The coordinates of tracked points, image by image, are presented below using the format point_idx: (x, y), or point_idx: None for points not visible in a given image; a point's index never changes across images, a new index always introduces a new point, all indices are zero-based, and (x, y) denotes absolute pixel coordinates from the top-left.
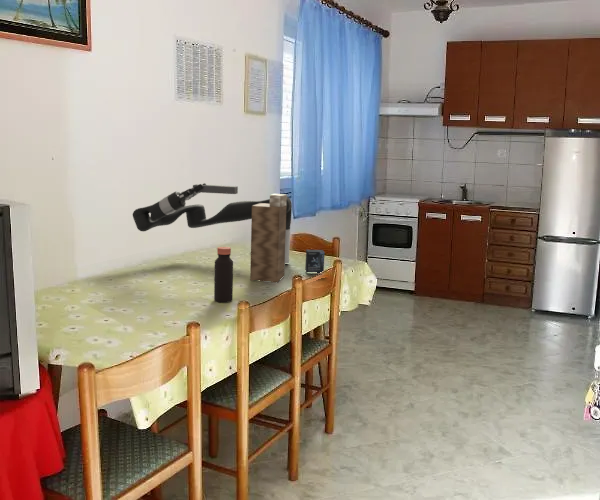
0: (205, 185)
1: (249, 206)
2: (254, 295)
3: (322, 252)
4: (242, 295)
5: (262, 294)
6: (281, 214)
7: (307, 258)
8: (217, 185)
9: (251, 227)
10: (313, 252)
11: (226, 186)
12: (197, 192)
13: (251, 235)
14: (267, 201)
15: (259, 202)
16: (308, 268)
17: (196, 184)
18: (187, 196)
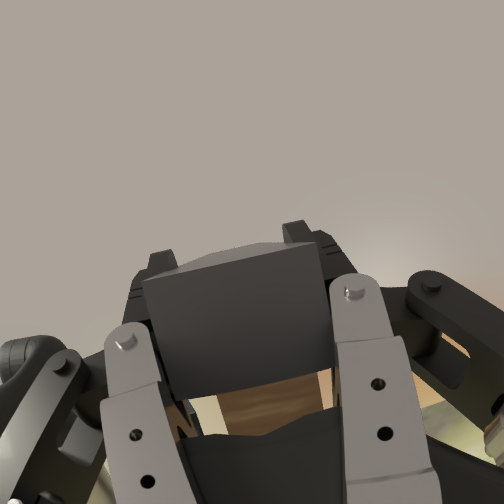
0: (256, 248)
1: (13, 412)
2: (444, 417)
3: (188, 400)
4: (463, 423)
5: (427, 417)
6: None
7: (199, 424)
8: (196, 259)
9: (316, 372)
10: (193, 408)
11: (246, 246)
12: (184, 407)
13: (320, 396)
14: (36, 364)
15: (21, 380)
16: None
17: (145, 280)
18: (463, 404)
